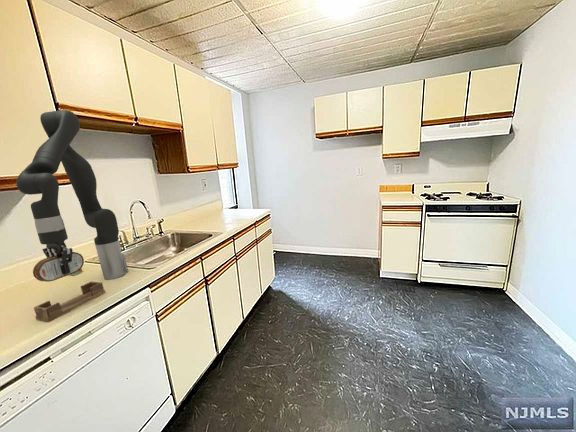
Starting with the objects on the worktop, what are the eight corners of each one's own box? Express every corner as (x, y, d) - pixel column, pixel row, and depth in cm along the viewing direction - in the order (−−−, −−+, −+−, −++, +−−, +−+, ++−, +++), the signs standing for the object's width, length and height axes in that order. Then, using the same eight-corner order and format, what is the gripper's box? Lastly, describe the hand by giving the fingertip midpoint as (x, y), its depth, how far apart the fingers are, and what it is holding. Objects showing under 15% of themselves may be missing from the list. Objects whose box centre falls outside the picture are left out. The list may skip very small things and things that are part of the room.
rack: (36, 319, 90) (32, 307, 89) (94, 291, 108) (91, 281, 107) (48, 322, 87) (44, 310, 86) (105, 292, 106) (102, 282, 105)
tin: (82, 267, 102) (77, 248, 100) (87, 268, 101) (82, 248, 99) (36, 285, 88) (28, 263, 86) (41, 286, 87) (34, 263, 85)
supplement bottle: (71, 276, 126) (66, 258, 124) (67, 274, 129) (62, 257, 127) (84, 272, 130) (79, 254, 128) (80, 270, 133) (75, 253, 131)
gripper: (26, 231, 90) (40, 276, 94) (50, 232, 85) (64, 279, 89) (51, 226, 97) (63, 268, 101) (75, 226, 92) (87, 270, 96)
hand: (64, 273), depth 95 cm, fingers closed on tin, 2 cm apart
